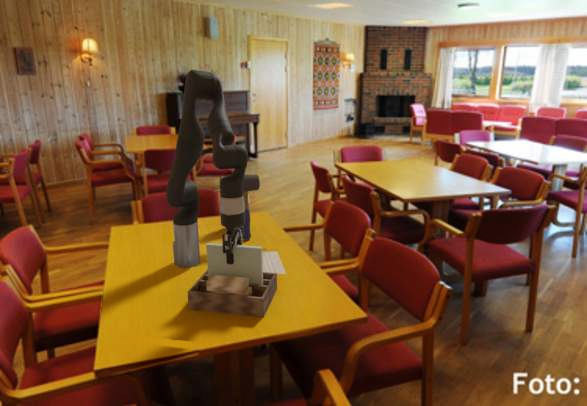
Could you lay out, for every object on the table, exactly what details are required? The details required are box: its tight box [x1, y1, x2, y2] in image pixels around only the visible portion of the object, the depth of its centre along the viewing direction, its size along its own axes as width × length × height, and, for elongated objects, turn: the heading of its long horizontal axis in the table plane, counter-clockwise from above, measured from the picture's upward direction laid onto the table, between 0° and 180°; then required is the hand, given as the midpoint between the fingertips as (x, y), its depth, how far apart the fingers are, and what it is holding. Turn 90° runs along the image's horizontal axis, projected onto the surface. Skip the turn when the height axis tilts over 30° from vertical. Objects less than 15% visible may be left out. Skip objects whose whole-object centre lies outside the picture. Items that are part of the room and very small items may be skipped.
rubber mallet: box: [243, 174, 261, 241], centre depth 194 cm, size 12×8×30 cm, turn 105°
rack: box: [187, 269, 278, 318], centre depth 141 cm, size 24×18×8 cm
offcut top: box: [206, 275, 249, 294], centre depth 135 cm, size 12×5×3 cm, turn 79°
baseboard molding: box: [262, 248, 287, 275], centre depth 167 cm, size 31×3×12 cm
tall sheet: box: [205, 242, 263, 285], centre depth 141 cm, size 18×2×18 cm, turn 79°
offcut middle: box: [210, 287, 252, 296], centre depth 136 cm, size 12×5×3 cm, turn 79°
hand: (234, 258), depth 139 cm, fingers open, 8 cm apart
